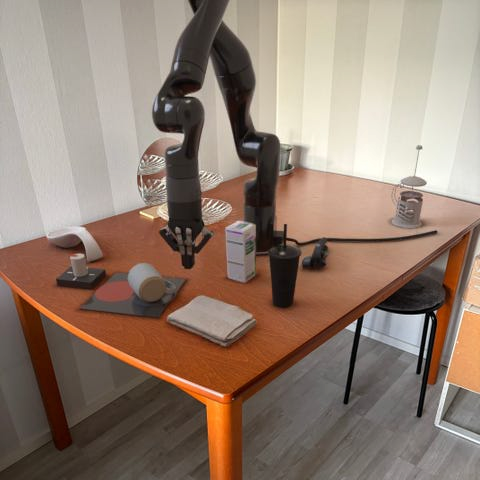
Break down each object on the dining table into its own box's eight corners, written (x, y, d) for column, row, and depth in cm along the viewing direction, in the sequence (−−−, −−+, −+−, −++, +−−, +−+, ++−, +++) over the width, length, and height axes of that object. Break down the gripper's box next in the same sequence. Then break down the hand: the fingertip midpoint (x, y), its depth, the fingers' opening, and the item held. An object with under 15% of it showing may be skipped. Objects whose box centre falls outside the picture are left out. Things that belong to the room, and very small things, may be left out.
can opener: (324, 274, 132) (325, 255, 129) (298, 270, 134) (299, 251, 131) (336, 249, 146) (338, 231, 143) (313, 246, 148) (314, 228, 145)
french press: (411, 230, 158) (425, 150, 145) (380, 221, 166) (391, 144, 153) (427, 223, 164) (442, 145, 151) (397, 214, 171) (409, 139, 158)
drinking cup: (265, 296, 122) (266, 219, 111) (295, 294, 122) (299, 217, 112) (269, 312, 115) (270, 231, 105) (301, 310, 116) (306, 229, 105)
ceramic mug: (140, 307, 117) (137, 278, 113) (129, 293, 123) (125, 265, 119) (181, 297, 122) (179, 268, 118) (168, 284, 128) (166, 256, 124)
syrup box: (245, 283, 128) (245, 230, 121) (226, 278, 131) (225, 226, 123) (256, 275, 132) (256, 223, 125) (238, 270, 135) (237, 219, 127)
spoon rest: (42, 243, 153) (36, 221, 149) (77, 233, 160) (72, 212, 156) (78, 266, 138) (73, 243, 134) (115, 254, 145) (111, 231, 141)
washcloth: (228, 350, 102) (227, 337, 101) (164, 324, 111) (163, 312, 110) (259, 325, 111) (259, 313, 109) (198, 303, 120) (197, 291, 118)
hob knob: (90, 271, 131) (86, 253, 128) (83, 277, 128) (80, 258, 125) (78, 270, 132) (74, 251, 129) (71, 276, 129) (67, 257, 126)
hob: (187, 280, 130) (187, 279, 130) (160, 318, 114) (160, 317, 113) (114, 273, 134) (114, 272, 134) (77, 309, 118) (77, 308, 118)
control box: (106, 275, 133) (105, 268, 132) (92, 289, 126) (90, 281, 125) (73, 272, 135) (71, 265, 134) (57, 285, 128) (55, 278, 127)
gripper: (148, 198, 106) (156, 271, 115) (207, 202, 103) (211, 277, 112) (161, 189, 112) (168, 259, 121) (217, 192, 109) (219, 264, 118)
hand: (188, 267), depth 116 cm, fingers closed
